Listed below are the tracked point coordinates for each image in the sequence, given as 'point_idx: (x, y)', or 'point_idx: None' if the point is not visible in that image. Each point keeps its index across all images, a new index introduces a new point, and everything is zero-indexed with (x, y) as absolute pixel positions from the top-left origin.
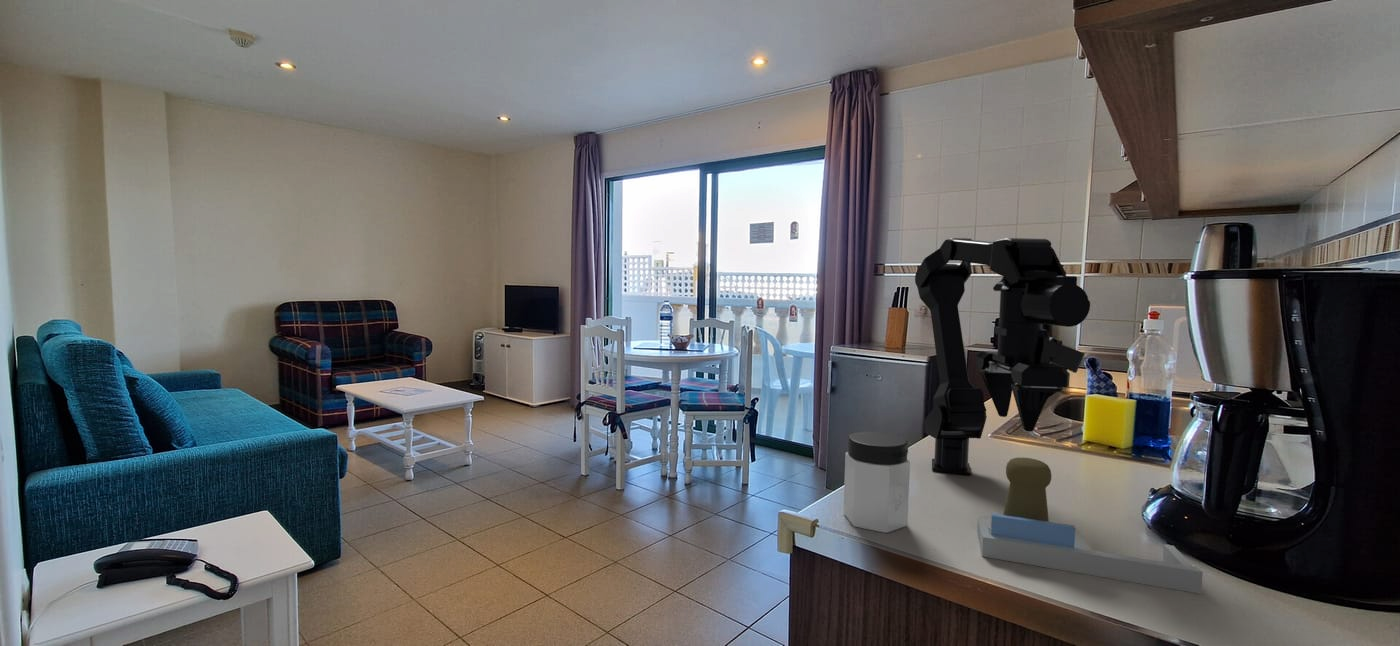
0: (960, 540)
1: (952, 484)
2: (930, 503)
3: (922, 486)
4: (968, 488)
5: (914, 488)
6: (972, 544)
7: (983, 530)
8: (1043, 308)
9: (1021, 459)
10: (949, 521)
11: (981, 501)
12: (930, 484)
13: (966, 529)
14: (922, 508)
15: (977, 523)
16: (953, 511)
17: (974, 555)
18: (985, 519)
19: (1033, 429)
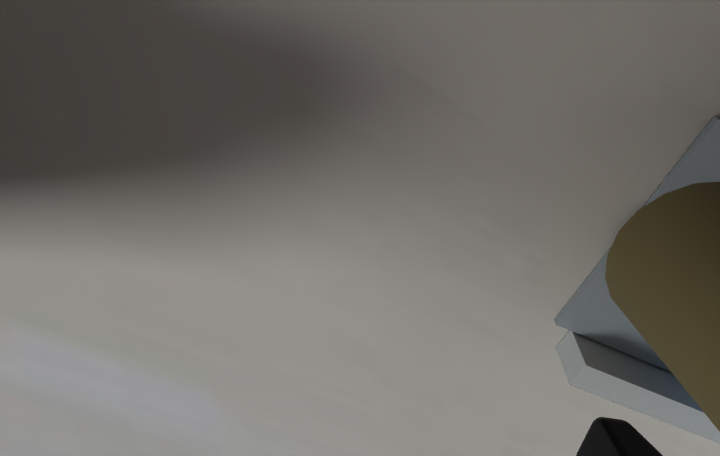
0: None
1: (40, 207)
2: (294, 382)
3: (97, 338)
4: (87, 159)
5: (129, 374)
6: None
7: (680, 419)
8: None
9: None
10: (464, 390)
11: (265, 188)
12: (63, 299)
13: (536, 370)
14: (343, 422)
15: (562, 365)
16: (376, 342)
17: None
18: (599, 373)
19: (636, 431)
